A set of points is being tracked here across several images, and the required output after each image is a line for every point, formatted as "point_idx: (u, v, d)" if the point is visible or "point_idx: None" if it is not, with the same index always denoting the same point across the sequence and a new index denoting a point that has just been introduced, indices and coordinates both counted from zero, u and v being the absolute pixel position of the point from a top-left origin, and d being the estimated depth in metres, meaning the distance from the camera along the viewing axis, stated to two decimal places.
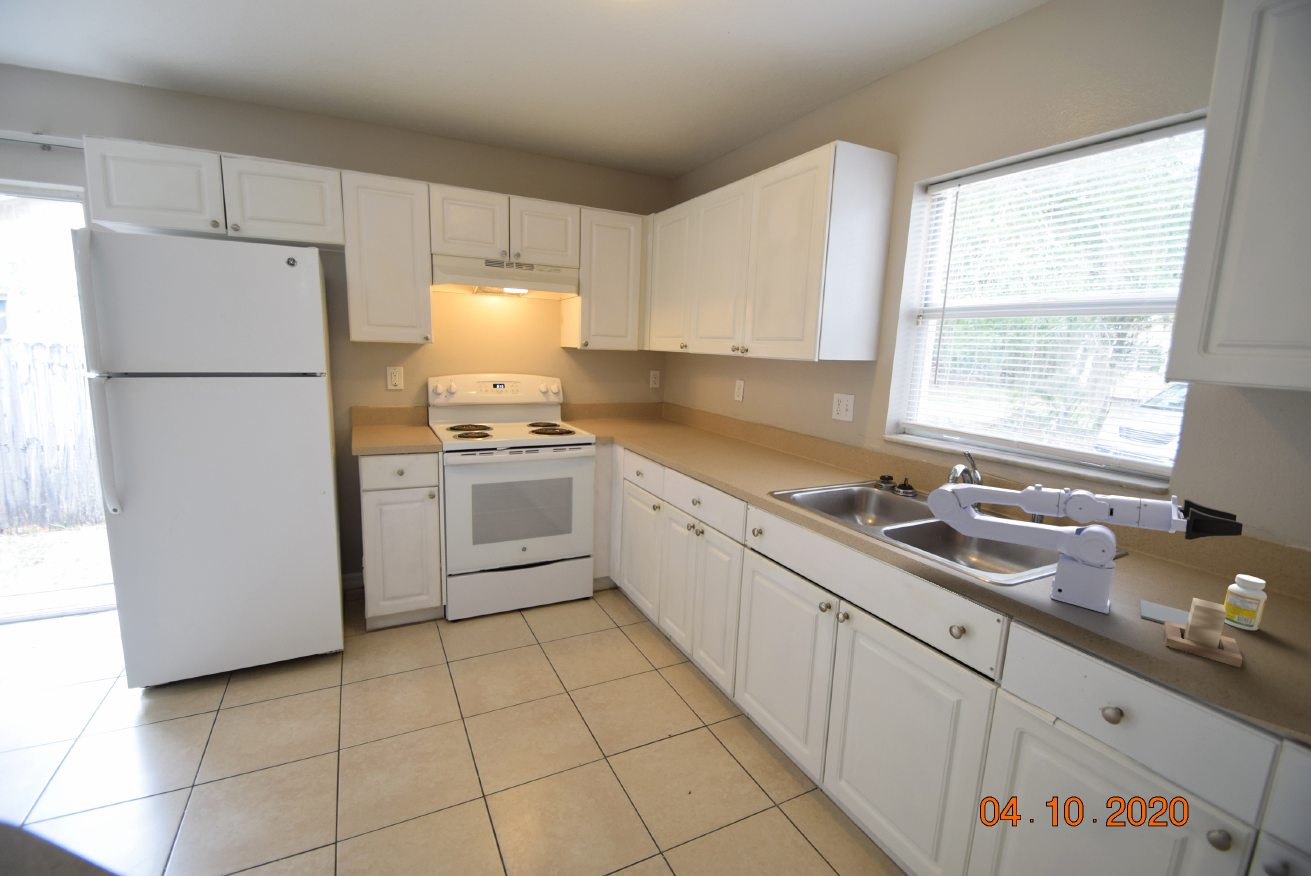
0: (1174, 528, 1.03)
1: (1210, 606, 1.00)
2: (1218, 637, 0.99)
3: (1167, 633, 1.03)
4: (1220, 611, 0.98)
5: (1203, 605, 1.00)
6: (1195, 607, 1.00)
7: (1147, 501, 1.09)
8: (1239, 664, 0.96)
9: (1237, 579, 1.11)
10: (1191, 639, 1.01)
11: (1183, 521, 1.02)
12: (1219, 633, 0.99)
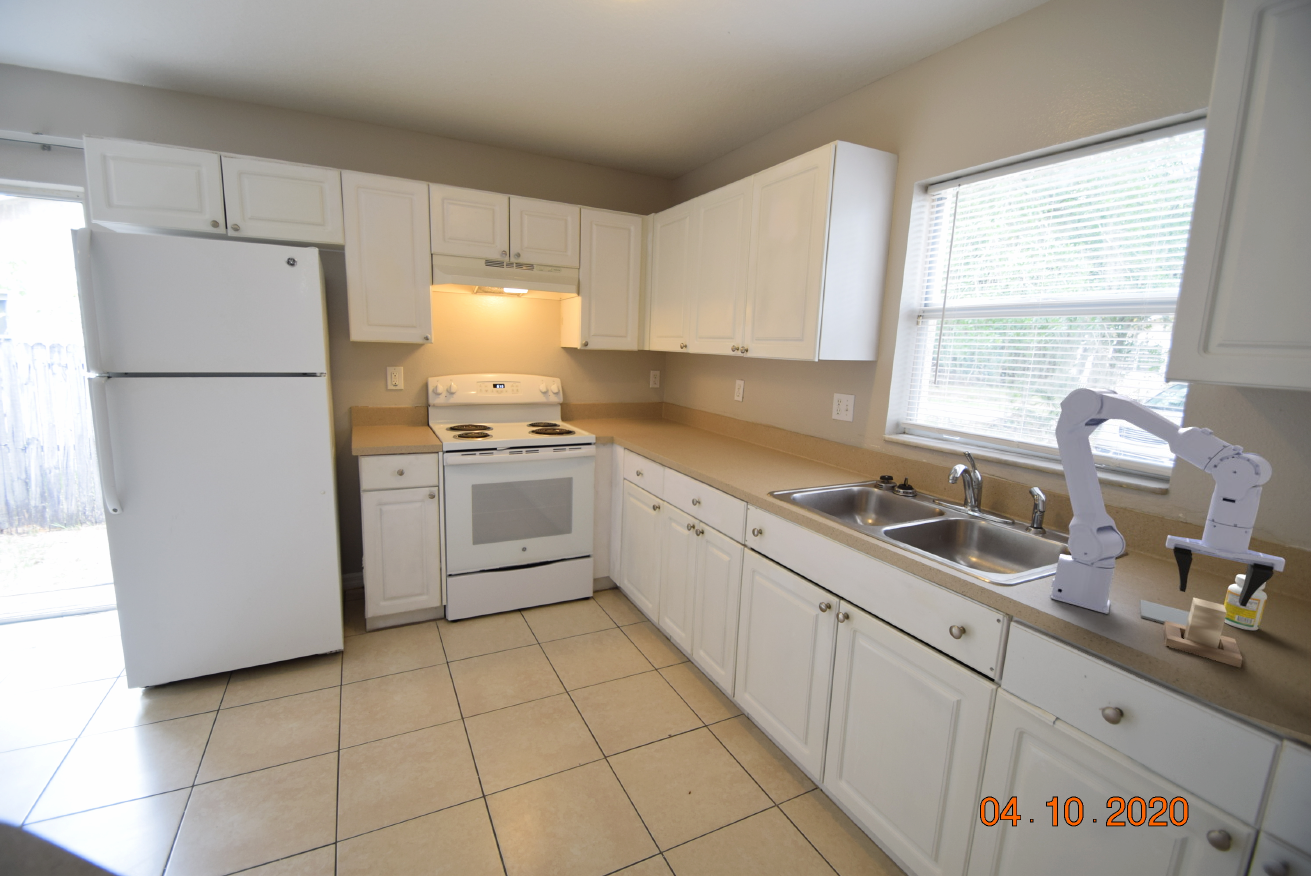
0: (1167, 537, 1.04)
1: (1210, 606, 1.00)
2: (1218, 637, 0.99)
3: (1167, 633, 1.03)
4: (1220, 611, 0.98)
5: (1203, 605, 1.00)
6: (1195, 607, 1.00)
7: (1221, 529, 0.97)
8: (1239, 664, 0.96)
9: (1237, 579, 1.11)
10: (1191, 639, 1.01)
11: (1166, 544, 1.03)
12: (1219, 633, 0.99)
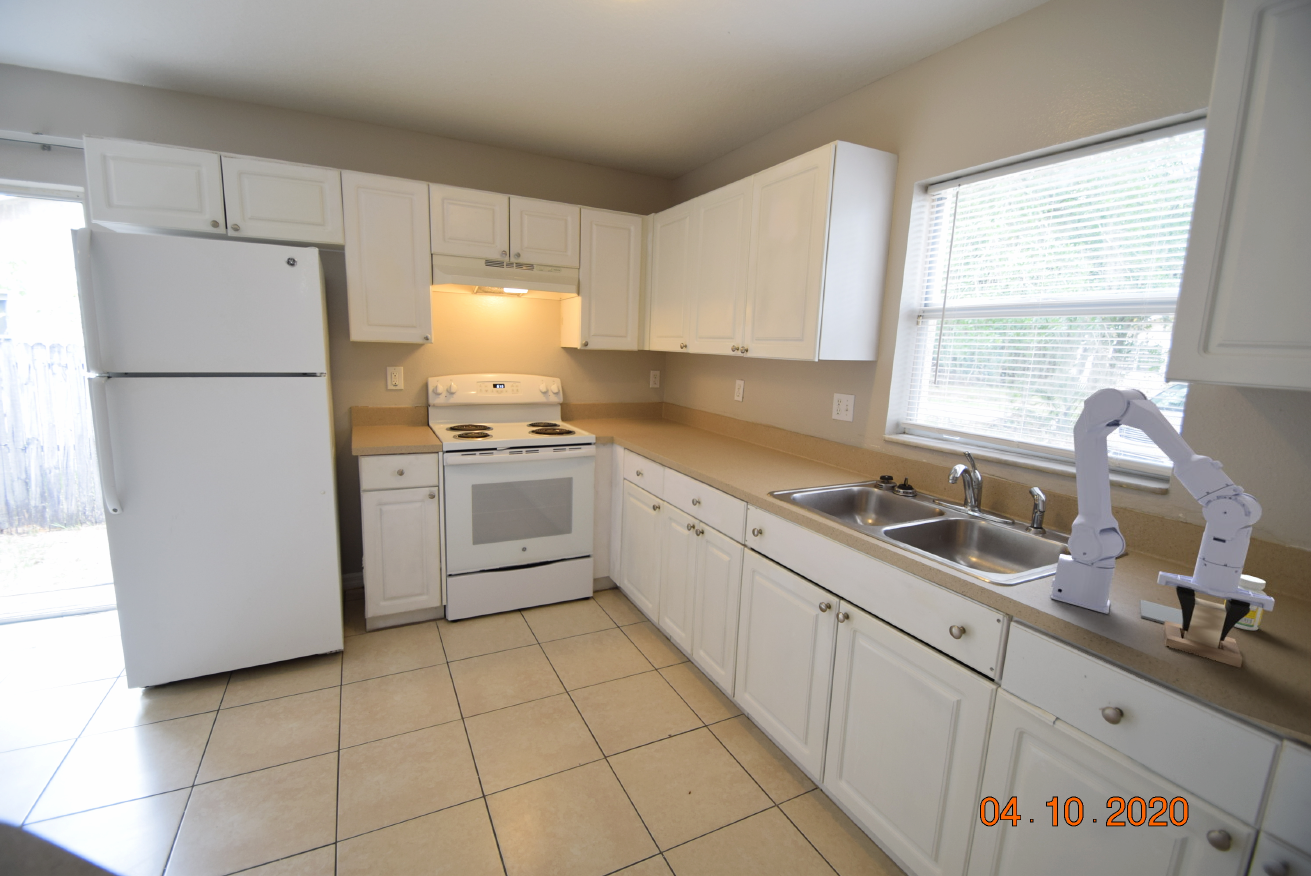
0: (1159, 573, 1.05)
1: (1210, 606, 1.00)
2: (1218, 637, 0.99)
3: (1167, 633, 1.03)
4: (1220, 611, 0.98)
5: (1203, 605, 1.00)
6: (1195, 607, 1.00)
7: (1211, 568, 0.98)
8: (1239, 664, 0.96)
9: None
10: (1191, 639, 1.01)
11: (1158, 581, 1.04)
12: (1219, 633, 0.99)
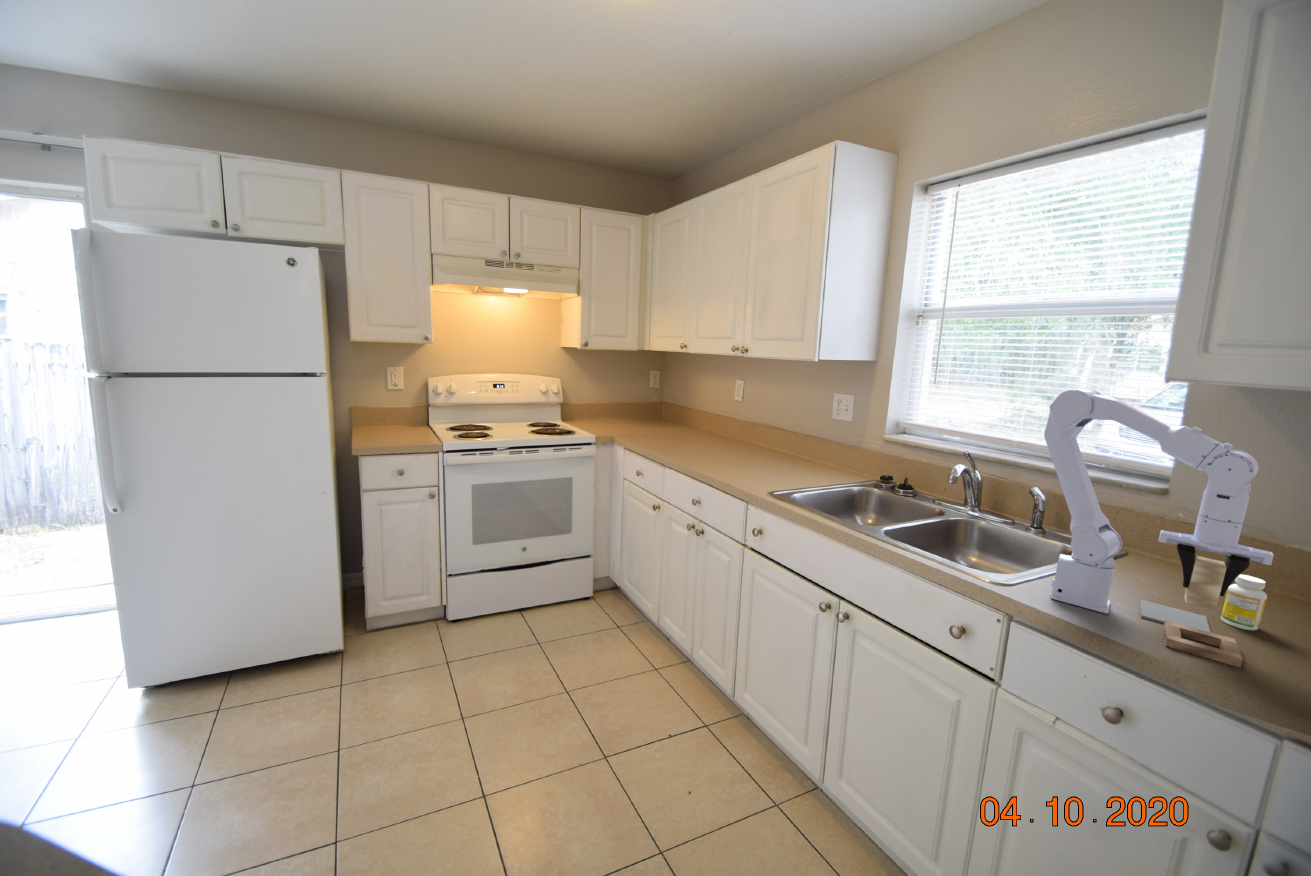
0: (1160, 532, 1.07)
1: (1210, 562, 1.02)
2: (1218, 592, 1.01)
3: (1167, 633, 1.03)
4: (1220, 566, 1.00)
5: (1204, 561, 1.02)
6: (1195, 563, 1.02)
7: (1211, 524, 1.00)
8: (1239, 664, 0.96)
9: (1237, 579, 1.11)
10: (1191, 595, 1.03)
11: (1159, 539, 1.06)
12: (1219, 588, 1.01)
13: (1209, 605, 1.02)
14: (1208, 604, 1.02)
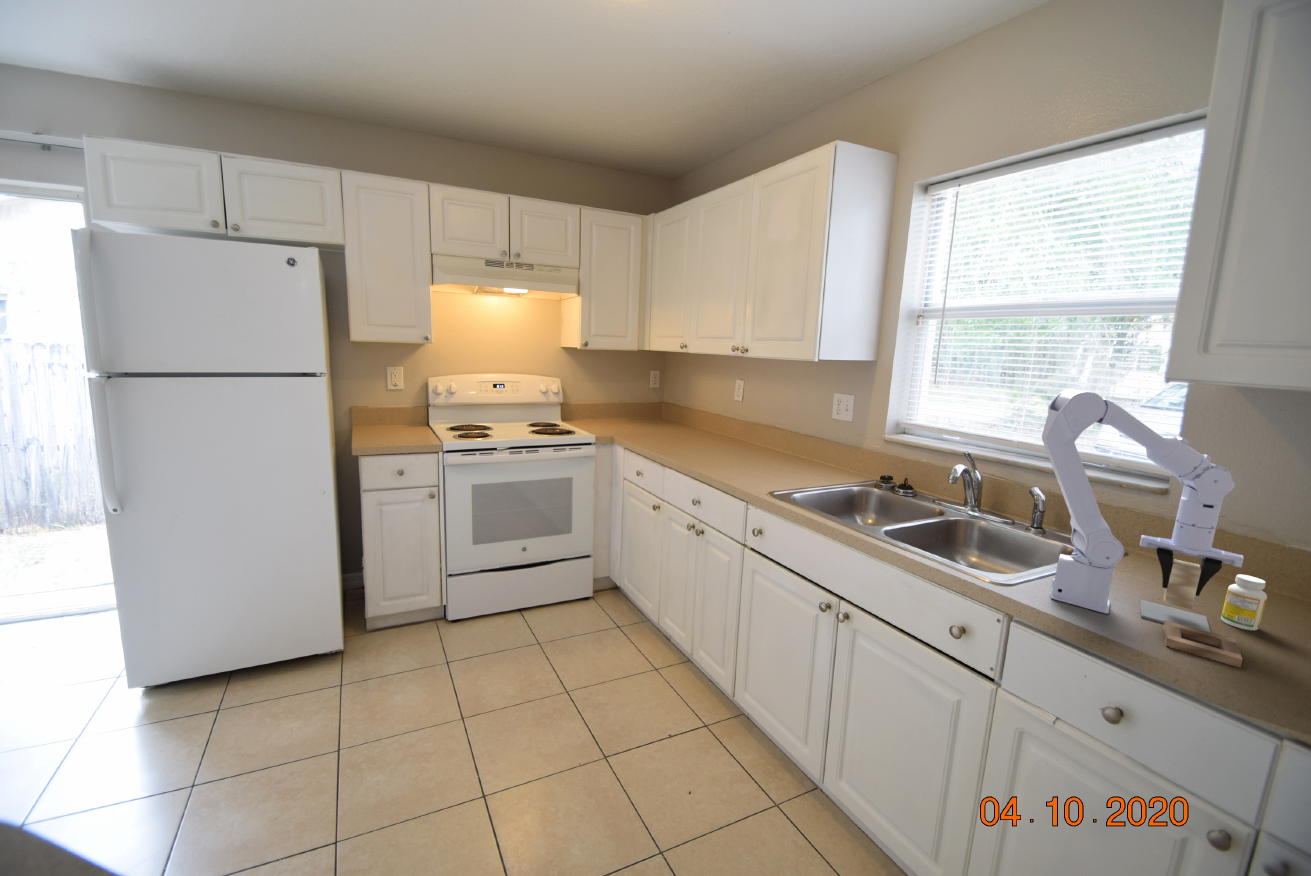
0: (1141, 536, 1.16)
1: (1186, 565, 1.10)
2: (1194, 593, 1.09)
3: (1167, 633, 1.03)
4: (1195, 569, 1.09)
5: (1180, 564, 1.10)
6: (1173, 566, 1.11)
7: (1187, 530, 1.09)
8: (1239, 664, 0.96)
9: (1237, 579, 1.11)
10: (1170, 596, 1.11)
11: (1140, 543, 1.15)
12: (1195, 589, 1.09)
13: (1186, 605, 1.10)
14: (1185, 604, 1.10)
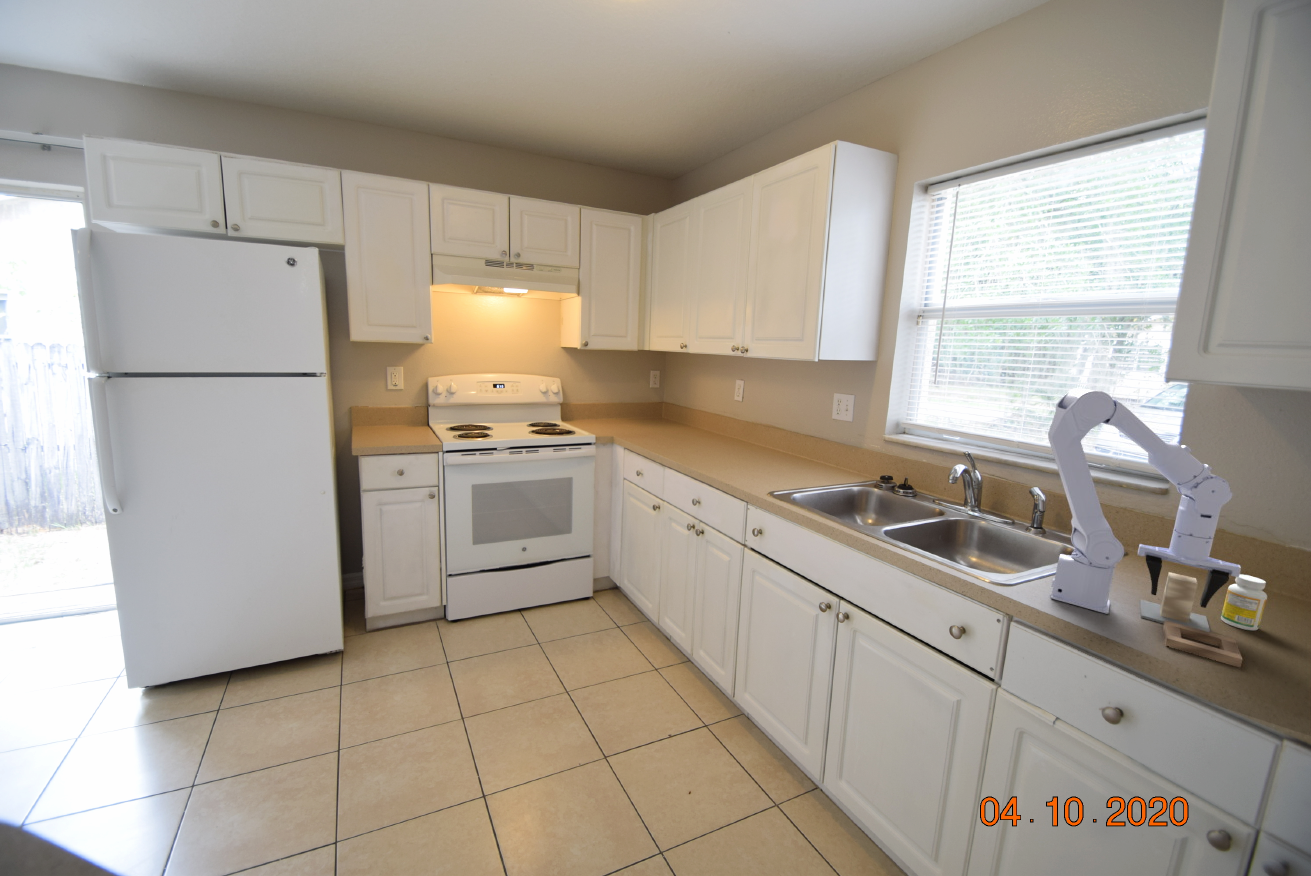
0: (1139, 546, 1.16)
1: (1183, 579, 1.11)
2: (1190, 607, 1.10)
3: (1167, 633, 1.03)
4: (1192, 583, 1.09)
5: (1177, 578, 1.11)
6: (1170, 580, 1.11)
7: (1185, 539, 1.09)
8: (1239, 664, 0.96)
9: (1237, 579, 1.11)
10: (1166, 609, 1.12)
11: (1138, 552, 1.15)
12: (1191, 603, 1.10)
13: (1182, 618, 1.11)
14: (1181, 617, 1.11)
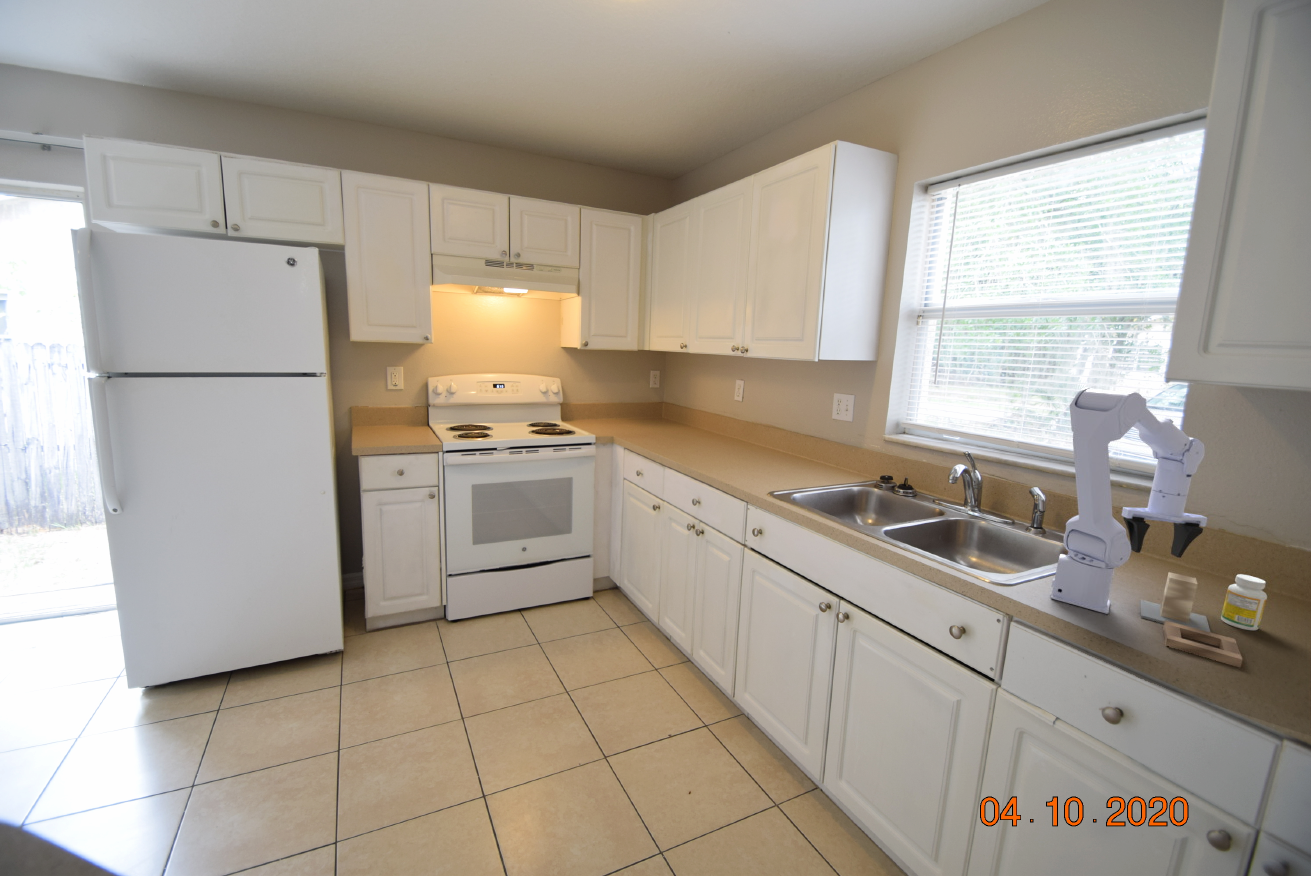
0: (1123, 509, 1.23)
1: (1183, 579, 1.11)
2: (1190, 607, 1.10)
3: (1167, 633, 1.03)
4: (1192, 583, 1.09)
5: (1177, 578, 1.11)
6: (1170, 580, 1.11)
7: (1170, 499, 1.18)
8: (1239, 664, 0.96)
9: (1237, 579, 1.11)
10: (1166, 609, 1.12)
11: (1126, 515, 1.22)
12: (1191, 603, 1.10)
13: (1182, 618, 1.11)
14: (1181, 617, 1.11)
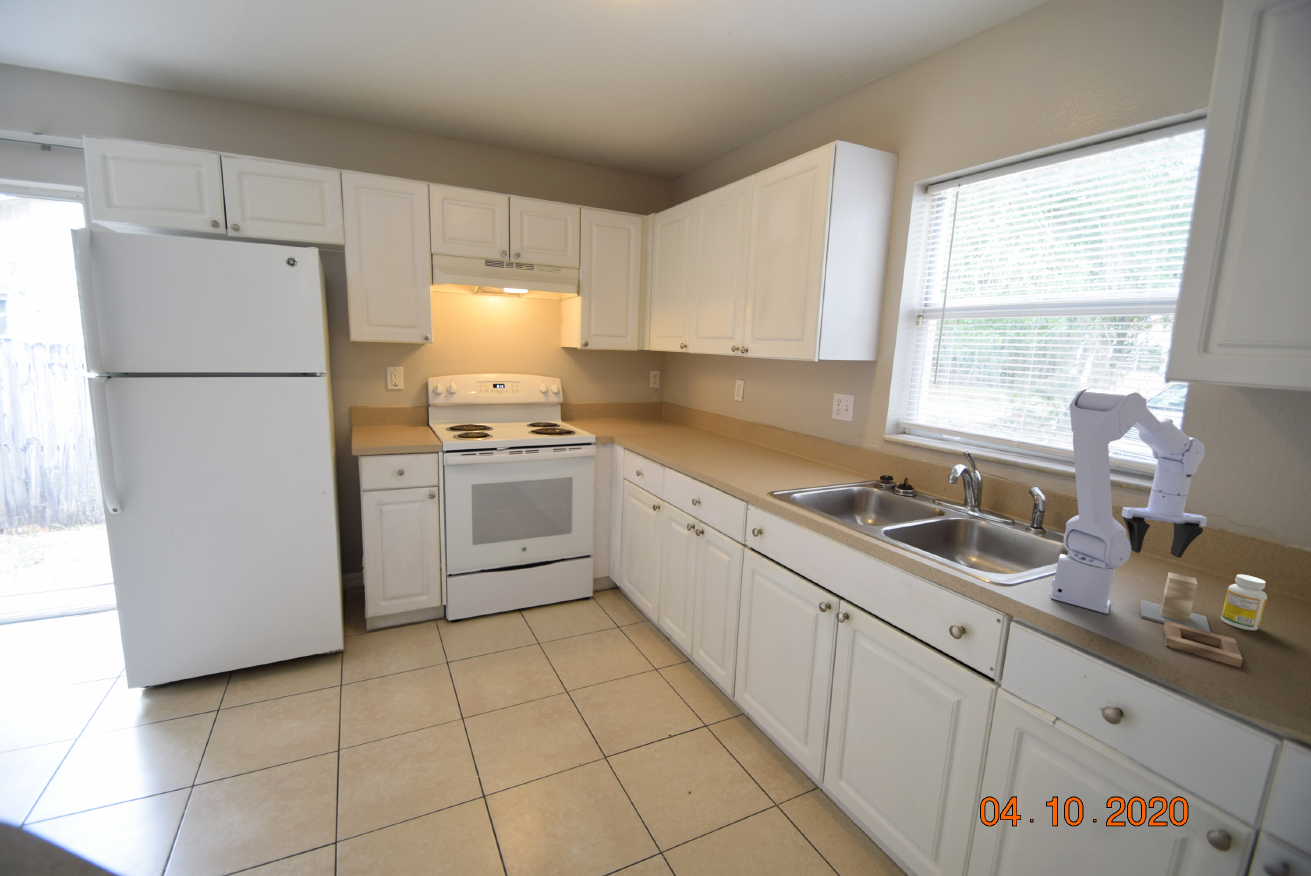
0: (1123, 509, 1.23)
1: (1183, 579, 1.11)
2: (1190, 607, 1.10)
3: (1167, 633, 1.03)
4: (1192, 583, 1.09)
5: (1177, 578, 1.11)
6: (1170, 580, 1.11)
7: (1170, 499, 1.18)
8: (1239, 664, 0.96)
9: (1237, 579, 1.11)
10: (1166, 609, 1.12)
11: (1126, 515, 1.22)
12: (1191, 603, 1.10)
13: (1182, 618, 1.11)
14: (1181, 617, 1.11)
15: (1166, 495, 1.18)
